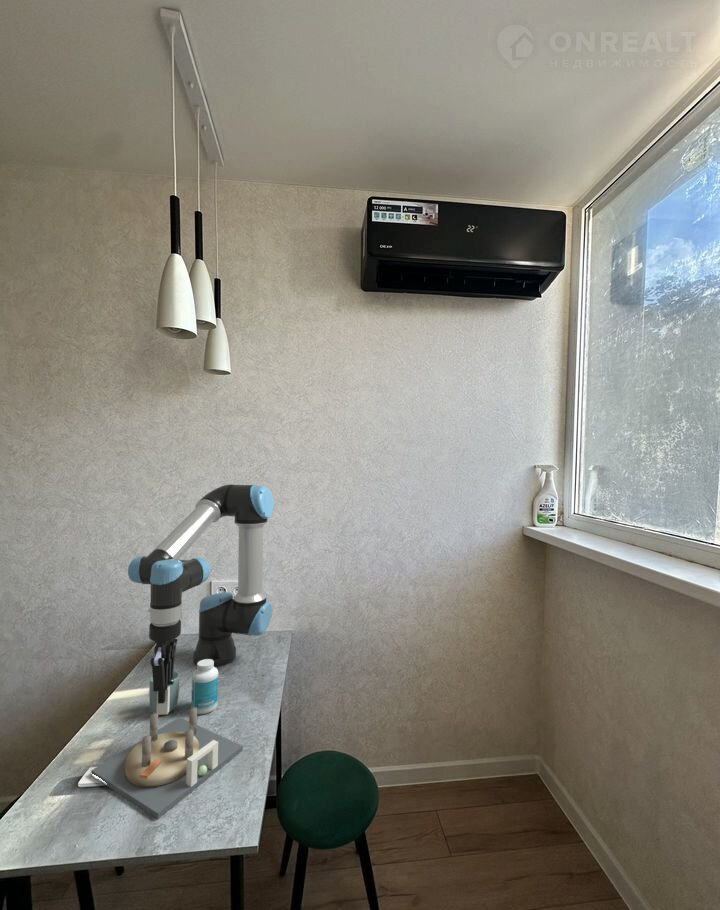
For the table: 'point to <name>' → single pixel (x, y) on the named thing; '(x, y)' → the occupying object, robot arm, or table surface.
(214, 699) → the pill bottle
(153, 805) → the stand
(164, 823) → the table surface
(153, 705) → the cup
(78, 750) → the table surface
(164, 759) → the disc
